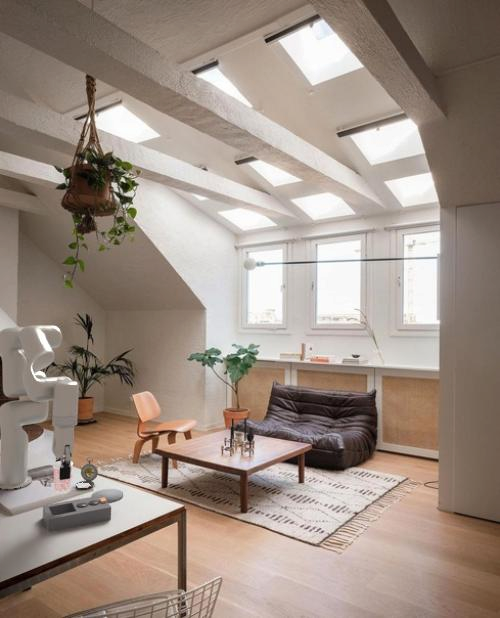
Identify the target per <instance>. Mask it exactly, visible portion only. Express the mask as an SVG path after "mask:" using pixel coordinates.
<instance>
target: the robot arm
mask: <svg viewBox="0 0 500 618" xmlns="http://www.w3.org/2000/svg"><path fill="white" fill-rule="evenodd" d="M62 341H63V334H62V331H61V330H60V328H59V327H58V326H56V325H49V324H48V325H46V324H45V325H43V324H42V325H34V324H33V325H27V326H16V327H15V326H14V327H7V328H3V329H2V330H1V331H0V358H1V362H2V391H3V394H4V396H5V397H7V398H23V397H28V399H19V400H12V401H8V402H4V403H3V404H1V406H0V488H1V489H0V490H5V489H8V490H15V489H14V488H17V489H21V488H24V487H27V486H29V485H30V484H32V480H33V479H32V477H31V476H30V475H28V468H29V467H28V464H29V461H28V460H29V435H28V433H27V432H26V431H25V430H24V429H23V426H27V425H32V424H39V423H43V422H45V421H46V420H47V419H48V416H49V401H52V421H51V426H52V427H53V434H52V435H53V436H52V445H51V447H52V448H51V450H52V454H53V455H54V456H55V462H57V461H61V467H60V474H59V479H60V480H65V479H70V473H71V474H72V472H71V460H72V459H71V458H72V457H73V456H74V450H75V426H77V425H78V412H79V390H80V389H79V388H80V387H79V386H80V385H79V383H78V382H77V381H75V380H72V378H70V377H68V376H49V377H47V375H46V374H45V372H44V371H42V370H43V369H46V368H48V367H49V366H50V365H51V364H52V363H53V362H54V360H55V352H54V350H53V349H56V348H58V347H60V346H61V345H62ZM22 350H23V351H24V353H23V352H22ZM63 455H64V457H63ZM63 459H64V460H65V461H64V462H63ZM20 487H21V488H20Z"/></svg>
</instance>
